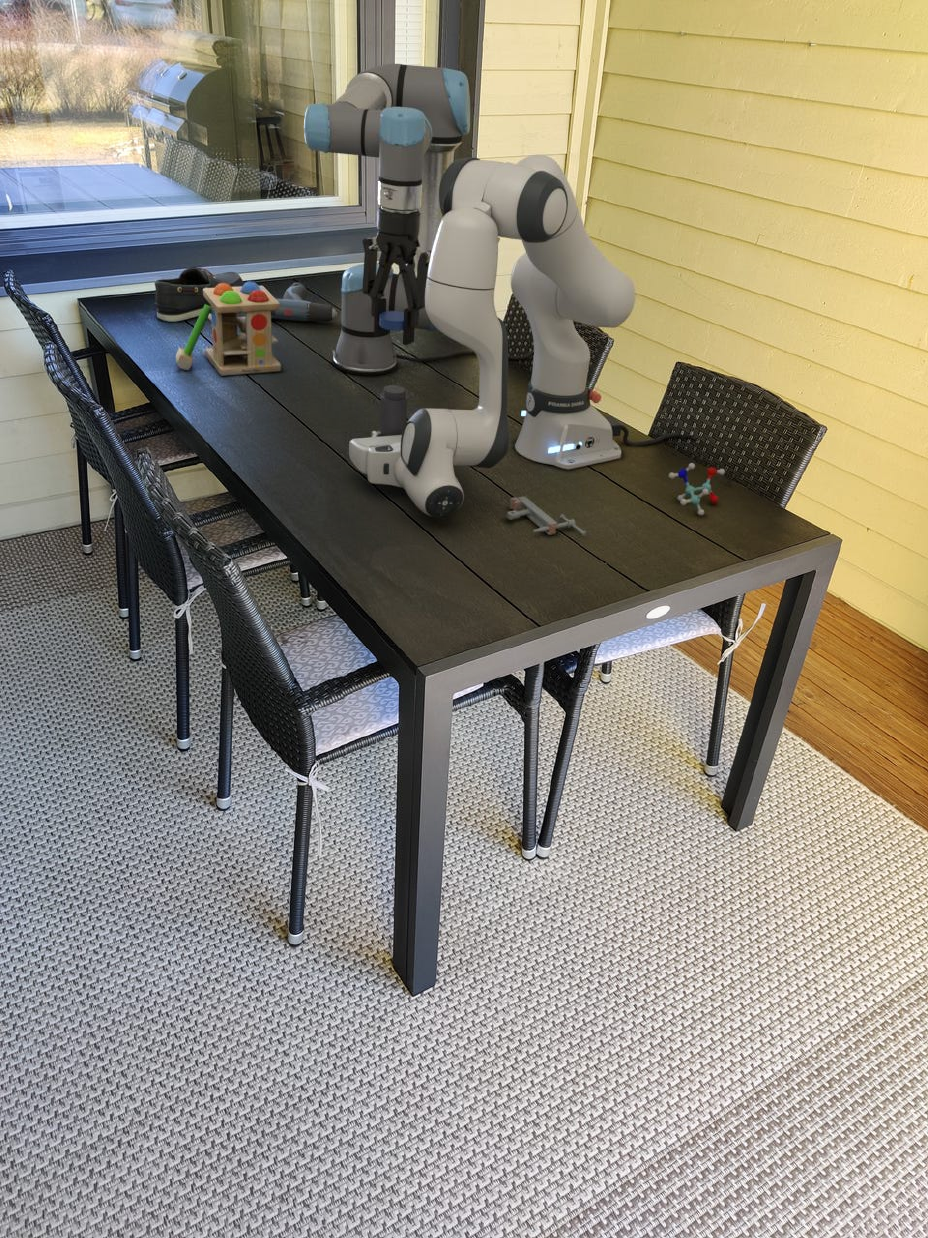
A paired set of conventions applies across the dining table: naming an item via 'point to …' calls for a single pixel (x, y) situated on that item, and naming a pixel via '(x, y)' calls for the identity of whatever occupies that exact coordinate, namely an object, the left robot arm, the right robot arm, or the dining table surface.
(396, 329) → the lid
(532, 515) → the clamp
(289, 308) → the power drill
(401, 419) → the jar
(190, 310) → the boat shoe
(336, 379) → the dining table surface
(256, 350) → the pounding bench toy
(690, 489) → the molecular model
